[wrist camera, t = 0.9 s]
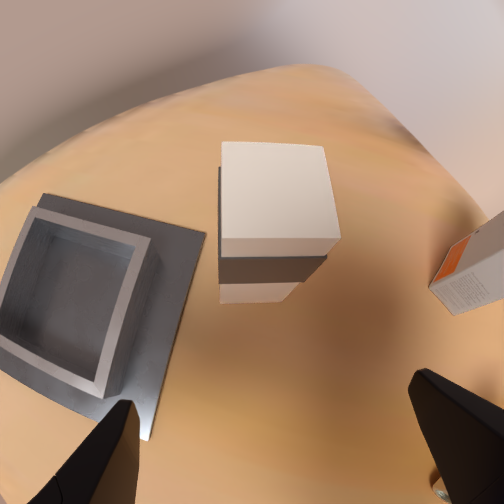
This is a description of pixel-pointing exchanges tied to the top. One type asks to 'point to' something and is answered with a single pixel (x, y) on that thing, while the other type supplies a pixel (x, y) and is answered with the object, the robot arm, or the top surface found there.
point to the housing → (94, 305)
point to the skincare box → (473, 269)
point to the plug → (272, 219)
